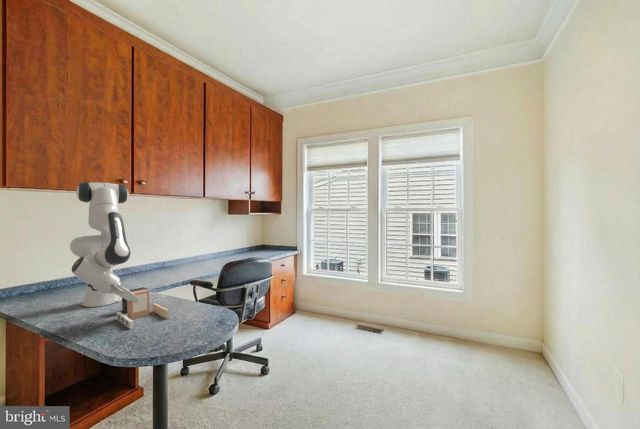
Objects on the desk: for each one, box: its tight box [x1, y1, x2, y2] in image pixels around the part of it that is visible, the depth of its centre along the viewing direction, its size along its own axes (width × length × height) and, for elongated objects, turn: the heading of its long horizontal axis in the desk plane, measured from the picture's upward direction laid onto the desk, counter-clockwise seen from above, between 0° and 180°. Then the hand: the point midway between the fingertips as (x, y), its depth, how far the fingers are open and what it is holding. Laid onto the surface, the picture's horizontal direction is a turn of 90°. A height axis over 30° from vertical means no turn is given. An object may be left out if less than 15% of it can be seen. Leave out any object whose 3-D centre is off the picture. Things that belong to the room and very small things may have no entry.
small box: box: [121, 286, 149, 314], centre depth 152 cm, size 11×6×10 cm, turn 141°
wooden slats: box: [116, 302, 170, 330], centre depth 138 cm, size 20×16×4 cm
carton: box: [127, 289, 151, 320], centre depth 142 cm, size 5×8×12 cm, turn 139°
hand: (133, 299), depth 140 cm, fingers open, 8 cm apart
